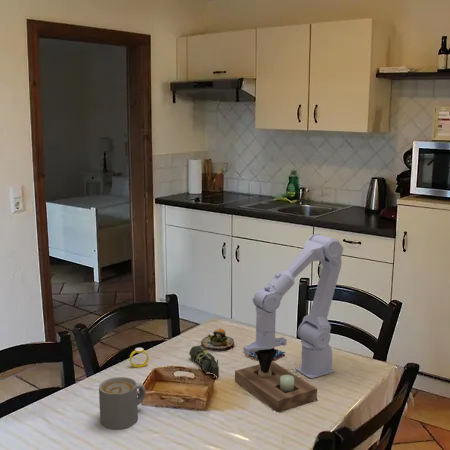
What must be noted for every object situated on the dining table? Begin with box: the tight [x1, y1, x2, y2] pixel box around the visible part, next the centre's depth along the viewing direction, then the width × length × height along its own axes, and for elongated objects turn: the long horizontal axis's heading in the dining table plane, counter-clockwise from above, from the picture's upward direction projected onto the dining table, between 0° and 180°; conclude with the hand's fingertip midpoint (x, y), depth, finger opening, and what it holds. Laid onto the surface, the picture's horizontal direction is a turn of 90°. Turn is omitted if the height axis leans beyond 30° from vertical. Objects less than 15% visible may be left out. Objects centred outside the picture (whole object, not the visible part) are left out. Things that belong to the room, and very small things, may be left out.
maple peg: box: [258, 369, 272, 378], centre depth 174 cm, size 4×4×4 cm
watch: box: [129, 347, 150, 368], centre depth 186 cm, size 6×3×6 cm, turn 107°
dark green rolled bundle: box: [189, 345, 220, 379], centre depth 185 cm, size 6×5×18 cm
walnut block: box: [234, 361, 318, 413], centre depth 170 cm, size 14×22×4 cm, turn 31°
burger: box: [200, 328, 235, 350], centre depth 203 cm, size 12×12×8 cm
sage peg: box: [280, 375, 294, 392], centre depth 164 cm, size 4×4×4 cm
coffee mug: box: [98, 376, 146, 431], centre depth 154 cm, size 13×10×10 cm
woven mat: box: [243, 348, 286, 362], centre depth 195 cm, size 10×11×2 cm
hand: (264, 371), depth 174 cm, fingers closed, pressing on maple peg
